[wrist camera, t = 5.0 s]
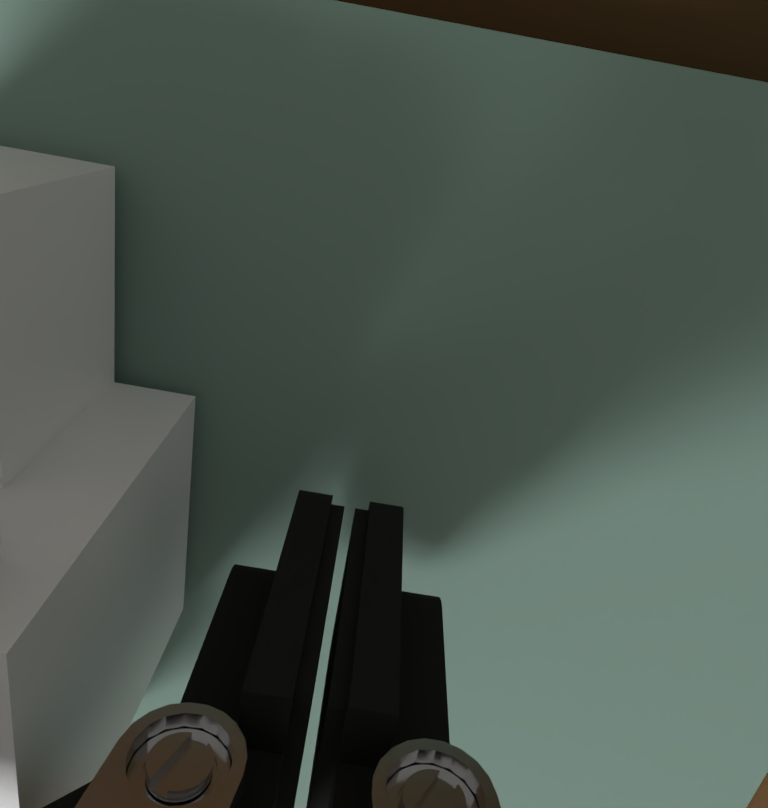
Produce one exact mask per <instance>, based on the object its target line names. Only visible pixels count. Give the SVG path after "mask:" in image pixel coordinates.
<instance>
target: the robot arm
mask: <svg viewBox="0 0 768 808" xmlns="http://www.w3.org/2000/svg"><path fill="white" fill-rule="evenodd" d="M332 499H333V495H328V494H322V493H316V492H310V491H304V490H299V493H298V496H297V499H296V503H295V506H294V510H293V513H292V517H291V520H290V524H289V527H288V531H287V534H286V538H285V541H284V545H283V548H282V552H281V555H280V559H279V562H278V566H277V569H276V571H274V570H268V569H262V568H256V567H249V566H243V565H237V564H235V565H234V566H233V567H232V569H231V572H230V574H229V576H228V579H227V582H226V584H225V587H224V590H223V592H222V595H221V597H220V600H219V603H218V605H217V608H216V610H215V613H214V616H213V618H212V621H211V624H210V626H209V629H208V631H207V634H206V637H205V639H204V642H203V645H202V647H201V650H200V652H199V655H198V658H197V660H196V663H195V666H194V668H193V671H192V673H191V676H190V679H189V681H188V684H187V686H186V689H185V692H184V694H183V697H182V700H181V702H180V703H177V704H169V705H166V706H163V707H161V708H158V709H155V710H152V711H150V712H148V713H147V714H145V715H144V716H142V717H141V718H139V719H138V720H136V721H135V722H133V723H132V724H131V726H130V727H129V728H128V729H127V730H126V731H125V732H124V734H123V735H122V736H121V737H120V738H119V740H118V741H117V743H116V744H115V746H114V747H113V749H112V750H111V752H110V754H109V755H108V757H107V758H106V760H105V761H104V763H103V764H102V766H101V767H100V769H99V771H98V772H97V774H96V775H95V777H94V778H93V780H92V781H91V782H89V783H87V784H85V785H83V786H81V787H80V788H78V789H76V790H74V791H72V792H70V793H68V794H67V795H65V796H63V797H61V798H59V799H57V800H55V801H54V802H52V803H50V804H48V805H46V806H44V807H42V808H294V805H295V799H296V793H297V787H298V782H299V776H300V770H301V764H302V758H303V753H304V747H305V741H306V735H307V730H308V724H309V718H310V712H311V706H312V700H313V694H314V688H315V682H316V676H317V670H318V664H319V658H320V652H321V646H322V640H323V634H324V628H325V622H326V616H327V610H328V604H329V598H330V592H331V586H332V580H333V574H334V568H335V562H336V556H337V550H338V544H339V538H340V531H341V525H342V519H343V513H344V507H345V506H339V505H333V504H332ZM403 516H404V508H403V507H401V506H395V505H389V504H383V503H377V502H371V501H370V503H369V507H368V510H363V509H357V508H355V512H354V518H353V523H352V529H351V534H350V540H349V546H348V551H347V557H346V562H345V568H344V573H343V579H342V584H341V590H340V596H339V601H338V607H337V612H336V618H335V623H334V629H333V635H332V640H331V646H330V652H329V659H328V666H327V672H326V679H325V686H324V692H323V699H322V706H321V712H320V719H319V726H318V732H317V739H316V746H315V752H314V759H313V766H312V773H311V779H310V786H309V793H308V799H307V806H306V808H501V806H500V803H499V799H498V795H497V793H496V791H495V788H494V786H493V784H492V781H491V779H490V777H489V776H488V774H487V773H486V772H485V771H484V769H483V768H482V767H481V766H480V764H479V763H478V762H477V761H476V760H475V759H474V758H472V757H471V756H470V755H468V754H467V753H466V752H465V751H463V750H462V749H460V748H458V747H456V746H453V745H451V744H450V739H449V721H448V703H447V685H446V668H445V650H444V632H443V614H442V603H441V599H440V597H436V596H430V595H423V594H417V593H411V592H405V591H402V560H403Z"/></svg>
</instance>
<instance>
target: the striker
mask: <svg viewBox="0 0 768 808" xmlns="http://www.w3.org/2000/svg"><path fill="white" fill-rule="evenodd" d="M114 328H115V166H110V165H104V164H99V163H93V162H88V161H82V160H77V159H71V158H66V157H60V156H55V155H49V154H44V153H38V152H33V151H27V150H22V149H16V148H11V147H5V146H0V808H42V807H44V806H46V805H48V804H50V803H52V802H54V801H55V800H57V799H59V798H61V797H63V796H65V795H67V794H68V793H70V792H72V791H74V790H76V789H78V788H80V787H81V786H83V785H85V784H87V783H89V782H91V781H92V780H93V778H94V777H95V775H96V774H97V772H98V771H99V769H100V767H101V766H102V764H103V763H104V761H105V760H106V758H107V757H108V755H109V754H110V752H111V750H112V749H113V747H114V746H115V744H116V743H117V741H118V740H119V738H120V737H121V736H122V735H123V734H124V732H125V731H126V730H127V729H128V728H129V727H130V725H131V722H132V720H133V718H134V716H135V714H136V711H137V709H138V707H139V705H140V703H141V700H142V698H143V696H144V694H145V692H146V689H147V687H148V685H149V683H150V681H151V678H152V676H153V674H154V672H155V670H156V667H157V665H158V663H159V661H160V659H161V656H162V654H163V652H164V650H165V648H166V646H167V643H168V641H169V639H170V637H171V635H172V632H173V630H174V628H175V626H176V624H177V621H178V619H179V617H180V615H181V613H182V610H183V605H184V588H185V571H186V553H187V536H188V519H189V502H190V484H191V467H192V450H193V433H194V415H195V398H196V396H191V395H186V394H180V393H174V392H168V391H162V390H157V389H151V388H145V387H139V386H133V385H127V384H122V383H116V382H114Z"/></svg>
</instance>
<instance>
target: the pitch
mask: <svg viewBox="0 0 768 808" xmlns="http://www.w3.org/2000/svg"><path fill="white" fill-rule="evenodd" d="M0 146H5V147H11V148H16V149H22V150H27V151H33V152H38V153H44V154H49V155H55V156H60V157H66V158H71V159H77V160H82V161H88V162H93V163H99V164H104V165H110V166H115V328H114V382H116V383H122V384H127V385H133V386H139V387H145V388H151V389H157V390H162V391H168V392H174V393H180V394H186V395H191V396H196V398H195V415H194V433H193V450H192V467H191V484H190V502H189V519H188V536H187V553H186V571H185V588H184V605H183V610H182V613H181V615H180V617H179V619H178V621H177V624H176V626H175V628H174V630H173V632H172V635H171V637H170V639H169V641H168V643H167V646H166V648H165V650H164V652H163V654H162V656H161V659H160V661H159V663H158V665H157V667H156V670H155V672H154V674H153V676H152V678H151V681H150V683H149V685H148V687H147V689H146V692H145V694H144V696H143V698H142V700H141V703H140V705H139V707H138V709H137V711H136V714H135V716H134V718H133V720H132V722H131V724H132V723H133V722H135V721H136V720H138V719H139V718H141V717H142V716H144V715H145V714H147V713H148V712H150V711H152V710H155V709H158V708H161V707H163V706H166V705H169V704H177V703H180V702H181V700H182V697H183V694H184V692H185V689H186V686H187V684H188V681H189V679H190V676H191V673H192V671H193V668H194V666H195V663H196V660H197V658H198V655H199V652H200V650H201V647H202V645H203V642H204V639H205V637H206V634H207V631H208V629H209V626H210V624H211V621H212V618H213V616H214V613H215V610H216V608H217V605H218V603H219V600H220V597H221V595H222V592H223V590H224V587H225V584H226V582H227V579H228V576H229V574H230V572H231V569H232V567H233V566H234V565H235V564H237V565H243V566H249V567H256V568H262V569H268V570H274V571H276V569H277V566H278V562H279V559H280V555H281V552H282V548H283V545H284V541H285V538H286V534H287V531H288V527H289V524H290V520H291V517H292V513H293V510H294V506H295V503H296V499H297V496H298V493H299V490H304V491H310V492H316V493H322V494H328V495H333V499H332V504H333V505H339V506H345V507H344V513H343V519H342V525H341V531H340V538H339V544H338V550H337V556H336V562H335V568H334V574H333V580H332V586H331V592H330V598H329V604H328V610H327V616H326V622H325V628H324V634H323V640H322V646H321V652H320V658H319V664H318V670H317V676H316V682H315V688H314V694H313V700H312V706H311V712H310V718H309V724H308V730H307V735H306V741H305V747H304V753H303V758H302V764H301V770H300V776H299V782H298V787H297V793H296V799H295V805H294V808H306V806H307V799H308V793H309V786H310V779H311V773H312V766H313V759H314V752H315V746H316V739H317V732H318V726H319V719H320V712H321V706H322V699H323V692H324V686H325V679H326V672H327V666H328V659H329V652H330V646H331V640H332V635H333V629H334V623H335V618H336V612H337V607H338V601H339V596H340V590H341V584H342V579H343V573H344V568H345V562H346V557H347V551H348V546H349V540H350V534H351V529H352V523H353V518H354V512H355V508H357V509H363V510H368V507H369V503H370V501H371V502H377V503H383V504H389V505H395V506H401V507H403V508H404V516H403V560H402V591H405V592H411V593H417V594H423V595H430V596H436V597H440V599H441V603H442V614H443V632H444V650H445V668H446V685H447V703H448V721H449V739H450V744H451V745H453V746H456V747H458V748H460V749H462V750H463V751H465V752H466V753H467V754H468V755H470V756H471V757H472V758H474V759H475V760H476V761H477V762H478V763H479V764H480V766H481V767H482V768H483V769H484V771H485V772H486V773H487V774H488V776H489V777H490V779H491V781H492V784H493V786H494V788H495V791H496V793H497V795H498V799H499V803H500V806H501V808H746V807H747V805H748V804H749V802H750V800H751V799H752V797H753V795H754V794H755V792H756V790H757V789H758V787H759V785H760V784H761V782H762V780H763V779H764V777H765V775H766V774H767V772H768V82H763V81H757V80H752V79H747V78H741V77H736V76H731V75H726V74H720V73H715V72H710V71H705V70H699V69H694V68H689V67H684V66H678V65H673V64H668V63H662V62H657V61H652V60H647V59H641V58H636V57H631V56H626V55H620V54H615V53H610V52H605V51H599V50H594V49H589V48H584V47H578V46H573V45H568V44H562V43H557V42H552V41H547V40H541V39H536V38H531V37H526V36H520V35H515V34H510V33H505V32H499V31H494V30H489V29H483V28H478V27H473V26H468V25H462V24H457V23H452V22H447V21H441V20H436V19H431V18H426V17H420V16H415V15H410V14H405V13H399V12H394V11H389V10H383V9H378V8H373V7H368V6H362V5H357V4H352V3H347V2H341V1H336V0H0ZM130 726H131V725H130Z"/></svg>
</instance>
